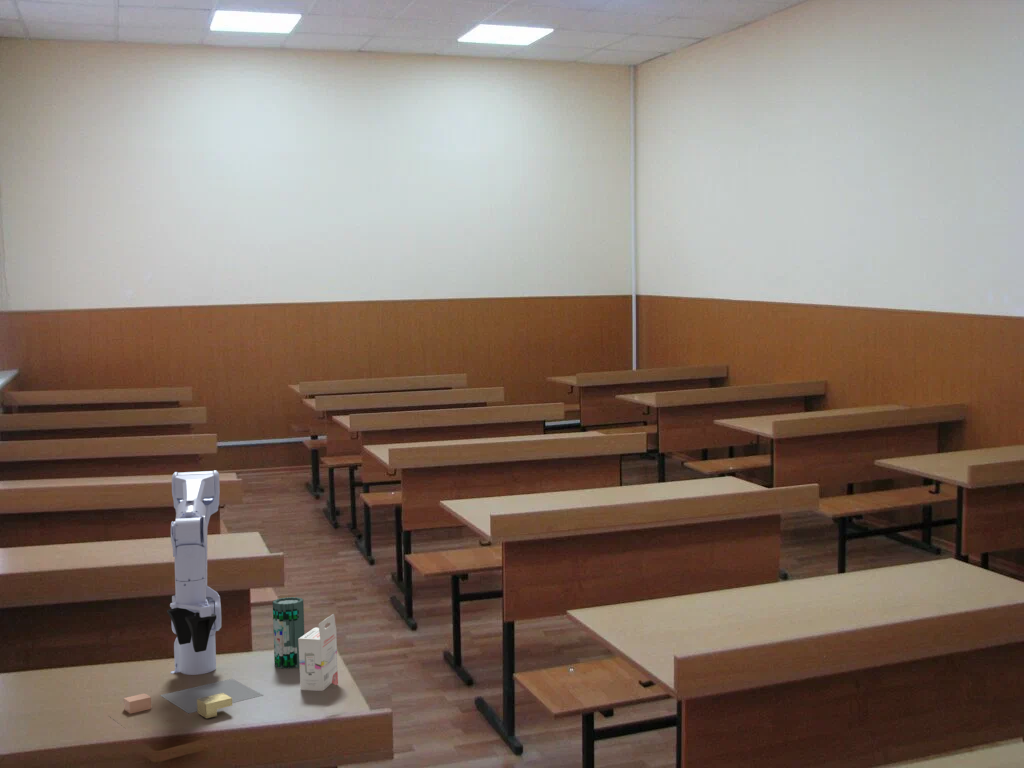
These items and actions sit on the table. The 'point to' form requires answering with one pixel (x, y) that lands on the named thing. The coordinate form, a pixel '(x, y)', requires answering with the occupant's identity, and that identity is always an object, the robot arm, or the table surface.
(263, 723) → the table surface
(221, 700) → the yellow stepped block
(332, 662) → the ink cartridge box
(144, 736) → the table surface
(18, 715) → the table surface
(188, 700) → the flat gray mat
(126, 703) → the pink rectangular block
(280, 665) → the can
